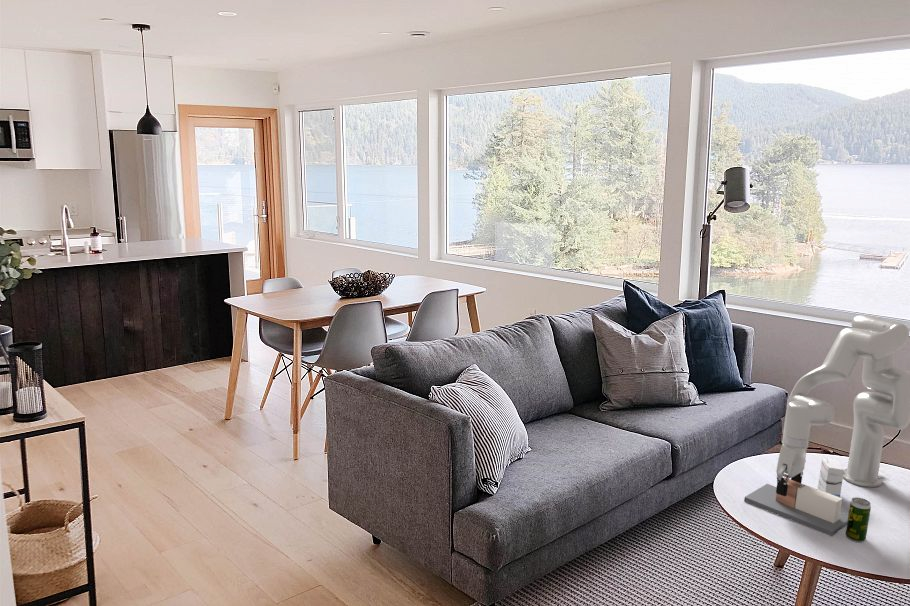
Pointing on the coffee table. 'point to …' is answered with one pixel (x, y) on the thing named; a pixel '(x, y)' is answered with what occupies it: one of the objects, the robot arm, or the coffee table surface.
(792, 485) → the stub
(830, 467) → the ink box
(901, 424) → the robot arm
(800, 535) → the coffee table surface
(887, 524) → the coffee table surface
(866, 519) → the beer can
